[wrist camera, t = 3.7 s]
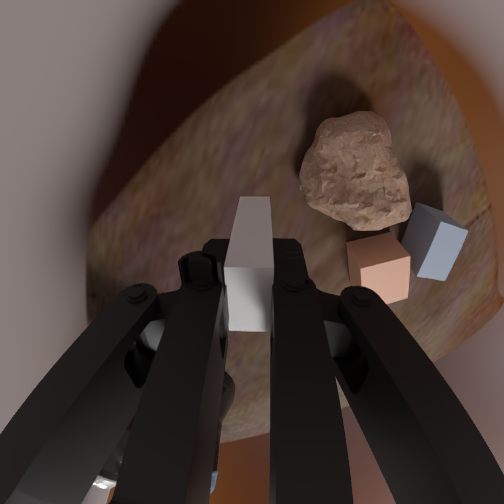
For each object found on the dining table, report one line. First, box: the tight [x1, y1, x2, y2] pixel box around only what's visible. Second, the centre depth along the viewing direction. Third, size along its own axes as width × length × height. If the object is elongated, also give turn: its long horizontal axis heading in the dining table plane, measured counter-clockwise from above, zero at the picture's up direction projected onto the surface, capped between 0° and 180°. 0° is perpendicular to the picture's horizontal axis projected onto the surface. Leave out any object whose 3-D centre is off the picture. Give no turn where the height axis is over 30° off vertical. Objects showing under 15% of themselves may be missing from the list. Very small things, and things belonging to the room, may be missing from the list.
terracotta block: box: [346, 232, 410, 304], centre depth 31 cm, size 6×6×6 cm
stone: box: [299, 111, 412, 231], centre depth 25 cm, size 12×9×10 cm
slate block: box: [401, 202, 468, 281], centre depth 28 cm, size 5×7×6 cm
